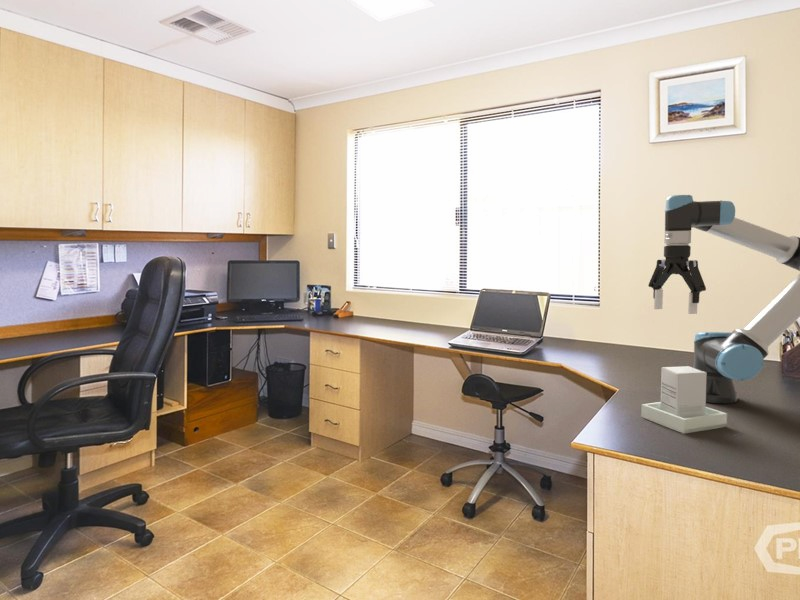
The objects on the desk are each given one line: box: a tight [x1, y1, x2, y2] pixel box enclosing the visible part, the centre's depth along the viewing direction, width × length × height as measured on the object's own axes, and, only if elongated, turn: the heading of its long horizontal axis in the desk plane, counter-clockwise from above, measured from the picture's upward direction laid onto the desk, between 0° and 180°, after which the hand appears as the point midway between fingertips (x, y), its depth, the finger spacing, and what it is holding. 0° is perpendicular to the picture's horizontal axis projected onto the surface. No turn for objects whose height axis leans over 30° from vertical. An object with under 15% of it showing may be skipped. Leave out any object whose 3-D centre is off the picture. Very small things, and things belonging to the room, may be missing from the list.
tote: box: [640, 401, 728, 434], centre depth 160 cm, size 16×16×4 cm
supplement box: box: [660, 365, 707, 418], centre depth 159 cm, size 9×9×15 cm
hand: (674, 311), depth 171 cm, fingers open, 13 cm apart
